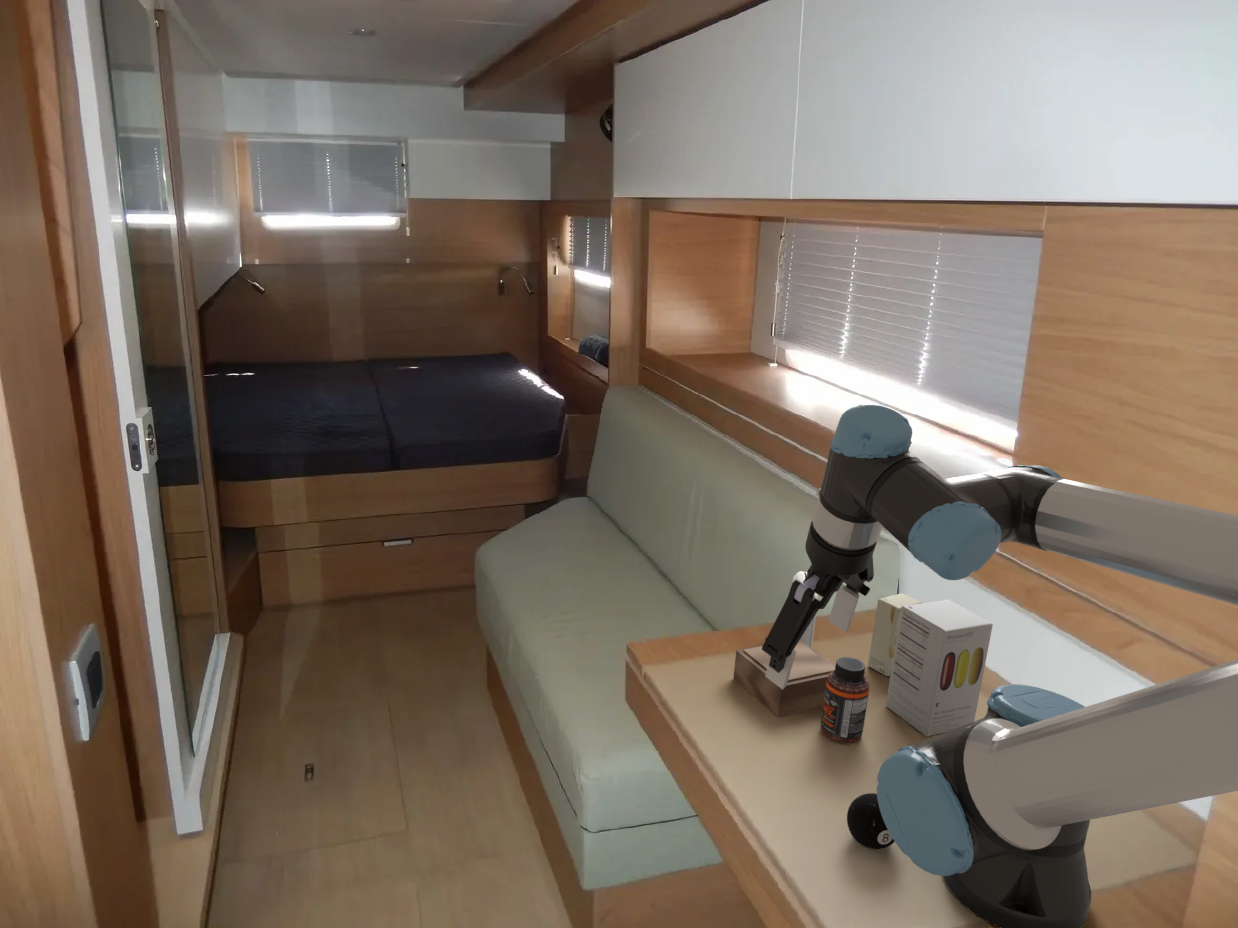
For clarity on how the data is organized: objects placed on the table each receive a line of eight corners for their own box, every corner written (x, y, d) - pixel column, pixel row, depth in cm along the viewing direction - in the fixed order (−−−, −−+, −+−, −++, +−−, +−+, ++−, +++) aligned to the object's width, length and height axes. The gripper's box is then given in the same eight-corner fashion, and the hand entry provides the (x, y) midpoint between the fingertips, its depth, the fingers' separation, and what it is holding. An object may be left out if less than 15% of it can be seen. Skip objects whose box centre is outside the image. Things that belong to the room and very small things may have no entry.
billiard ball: (858, 862, 102) (865, 817, 101) (836, 827, 108) (842, 785, 106) (906, 857, 103) (913, 813, 102) (881, 823, 109) (888, 781, 107)
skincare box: (886, 677, 145) (897, 608, 142) (866, 666, 148) (876, 598, 145) (912, 668, 148) (923, 601, 145) (892, 657, 152) (902, 591, 148)
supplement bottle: (811, 725, 130) (820, 654, 127) (847, 720, 132) (857, 650, 129) (833, 748, 124) (843, 675, 121) (870, 742, 126) (881, 670, 123)
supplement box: (926, 738, 128) (944, 631, 124) (883, 706, 136) (898, 604, 132) (976, 726, 132) (995, 622, 127) (931, 695, 140) (948, 596, 136)
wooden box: (842, 701, 137) (846, 670, 135) (777, 716, 131) (781, 684, 130) (794, 665, 147) (798, 636, 146) (733, 678, 142) (736, 648, 140)
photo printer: (812, 657, 150) (821, 589, 147) (786, 654, 151) (794, 586, 148) (809, 630, 160) (817, 566, 157) (785, 627, 161) (792, 564, 157)
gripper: (875, 468, 110) (838, 588, 123) (749, 563, 95) (722, 687, 108) (929, 498, 106) (885, 619, 119) (806, 602, 91) (771, 726, 104)
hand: (807, 652), depth 113 cm, fingers open, 13 cm apart
